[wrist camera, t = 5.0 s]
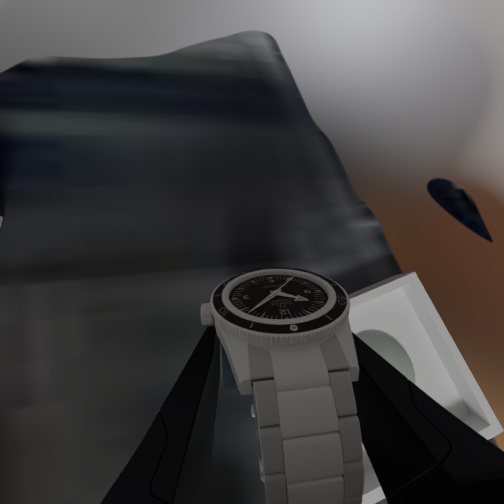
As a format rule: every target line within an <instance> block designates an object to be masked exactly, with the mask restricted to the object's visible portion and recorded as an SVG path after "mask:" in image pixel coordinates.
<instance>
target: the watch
mask: <svg viewBox="0 0 504 504" xmlns="http://www.w3.org/2000/svg"><path fill="white" fill-rule="evenodd" d="M349 311H350V299H349V296H348V294H347V293H346V292H345V290H344V289H343V288H342V287H341V286H340V285H339V284H337V283H336V282H335V281H333V280H331V279H329V278H327V277H325V276H323V275H320V274H317V273H314V272H310V271H306V270H301V269H295V268H280V267H276V268H262V269H255V270H250V271H246V272H243V273H240V274H237V275H234V276H232V277H230V278H228V279H227V280H225V281H223V282H222V283H220V285H218V286H217V287H216V288H215V290H214V291H213V293H212V295H211V298H210V303H203V304H202V305H201V313H200V314H201V323H202V325H209V324H214V321H215V328H216V332H217V335H218V337H219V339H220V341H221V343H222V360H223V380H224V389H229V388H237V387H238V389H239V392H240V394H241V395H248V394H252V389H251V386H254V388H253V401H254V405H251V413H252V417H255V423H256V433H257V444H258V455H259V465H260V476H261V480H262V481H263V482H264V485H265V492H266V504H362V495H363V489H364V463H363V460H362V459H363V449H362V439H361V431H360V424H359V419H358V417H357V415H356V413H357V409H356V403H355V397H354V392H353V387H352V383H351V382H353V381H358V377H359V365H358V360H357V355H356V350H355V345H354V340H353V336H352V332H351V327H350V323H349V318H348V316H349Z"/></svg>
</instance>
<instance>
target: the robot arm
mask: <svg viewBox="0 0 504 504" xmlns="http://www.w3.org/2000/svg"><path fill="white" fill-rule="evenodd" d="M351 332H352V331H351ZM352 336H353V340H354V345H355V350H356V355H357V360H358V365H359V377H358V381H353V382H351V383H352V387H353V392H354V397H355V403H356V409H357V413H356V415H357V417H358V419H359V424H360V431H361V439H362V443H363V445H364V448H365V450H366V453H367V455H368V457H369V460H370V462H371V464H372V467H373V469H374V472H375V474H376V476H377V479H378V481H379V483H380V486H381V488H382V491H383V493H384V495H385V497H386V498H387V499H386V500H387V503H388V504H504V452H503V451H502V450H501V449H499V448H498V447H497V446H495V445H494V444H493V443H491V442H490V441H489V440H487V439H486V438H484V437H483V436H482V435H480V434H479V433H478V432H476V431H475V430H474V429H472V428H471V427H470V426H468V425H467V424H465V423H464V422H463V421H461V420H460V419H459V418H457V417H456V416H455V415H453V414H452V413H451V412H449V411H448V410H447V409H445V408H444V407H443V406H441V405H440V404H439V403H437V402H436V401H435V400H434V399H432V398H431V397H430V396H429V395H428V394H426V393H425V392H424V391H423V390H421V389H420V388H419V387H418V386H416V385H415V384H414V383H413V382H412V381H410V380H408V378H407V377H406V376H404V375H403V374H402V373H401V372H400V371H398V370H397V369H396V368H395V367H394V366H392V365H391V364H390V363H389V362H388V361H386V360H385V359H384V358H383V357H382V356H380V355H379V354H378V353H377V352H376V351H374V350H373V349H372V348H371V347H370V346H368V345H367V344H366V343H365V342H364V341H362V340H361V339H360V338H359V337H358V336H357V335H355V334H354V333H353V332H352ZM219 378H220V340H219V337H218V335H217V332H216V328H215V326H209V327H207V328H206V330H205V332H204V334H203V335H202V337H201V339H200V341H199V342H198V344H197V346H196V348H195V349H194V351H193V353H192V355H191V357H190V358H189V360H188V362H187V364H186V365H185V367H184V369H183V371H182V372H181V374H180V376H179V378H178V379H177V381H176V383H175V385H174V387H173V388H172V390H171V392H170V394H169V395H168V397H167V399H166V401H165V402H164V404H163V406H162V408H161V410H160V411H161V412H159V413H158V415H157V416H156V418H155V420H154V422H153V423H152V425H151V427H150V428H149V430H148V432H147V434H146V435H145V437H144V439H143V440H142V442H141V444H140V445H139V447H138V448H137V450H136V451H135V453H134V454H133V456H132V457H131V459H130V460H129V462H128V464H127V465H126V466H125V468H124V469H123V471H122V472H121V474H120V475H119V477H118V478H117V480H116V481H115V483H114V484H113V486H112V487H111V489H110V490H109V492H108V493H107V495H106V496H105V498H104V499H103V501H102V502H101V504H206V501H207V491H208V482H209V473H210V463H211V454H212V445H213V435H214V426H215V417H216V407H217V398H218V389H219Z"/></svg>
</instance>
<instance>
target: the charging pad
mask: <svg viewBox="0 0 504 504" xmlns="http://www.w3.org/2000/svg"><path fill="white" fill-rule="evenodd" d="M348 296H349V299H350V311H349V316H348V318H349V323H350V327H351V331H352V332H353V333H354V334H355V335H357V336H358V337H359V338H360V339H361V340H362V341H364V342H365V343H366V344H367V345H368V346H370V347H371V348H372V349H373V350H374V351H376V352H377V353H378V354H379V355H380V356H382V357H383V358H384V359H385V360H386V361H388V362H389V363H390V364H391V365H392V366H394V367H395V368H396V369H397V370H398V371H400V372H401V373H402V374H403V375H404V376H406V377H407V378H408V380H410V381H412V382H413V383H414V384H415V385H416V386H418V387H419V388H420V389H421V390H423V391H424V392H425V393H426V394H428V395H429V396H430V397H431V398H432V399H434V400H435V401H436V402H437V403H439V404H440V405H441V406H443V407H444V408H445V409H447V410H448V411H449V412H451V413H452V414H453V415H455V416H456V417H457V418H459V419H460V420H461V421H463V422H464V423H465V424H467V425H468V426H470V427H471V428H472V429H474V430H475V431H476V432H478V433H479V434H480V435H482V436H483V437H484V438H486V439H487V440H489V439H491V438H493V437H494V436H496V435H498V434H500V433H501V432H503V431H504V430H503V429H502V427H501V425H500V423H499V421H498V420H497V418H496V416H495V414H494V413H493V411H492V409H491V407H490V405H489V404H488V402H487V400H486V398H485V397H484V395H483V393H482V391H481V389H480V387H479V386H478V384H477V382H476V380H475V379H474V377H473V375H472V373H471V371H470V370H469V368H468V366H467V364H466V362H465V361H464V359H463V357H462V355H461V354H460V352H459V350H458V348H457V346H456V345H455V343H454V341H453V339H452V337H451V336H450V334H449V332H448V330H447V329H446V327H445V325H444V323H443V321H442V320H441V318H440V316H439V314H438V313H437V311H436V309H435V307H434V305H433V304H432V302H431V300H430V298H429V296H428V295H427V293H426V291H425V289H424V287H423V286H422V284H421V282H420V280H419V278H418V277H417V275H416V273H415V272H411V273H404V274H397V275H394V276H392V277H389V278H387V279H384V280H382V281H380V282H377V283H375V284H372V285H370V286H368V287H365V288H363V289H360V290H358V291H356V292H353V293H351V294H349V295H348ZM362 449H363V459H362V460H363V463H364V489H363V495H362V504H375V503H377V502H379V501H380V500H382V499H384V498H386V497H385V495H384V493H383V491H382V488H381V486H380V483H379V481H378V479H377V476H376V474H375V472H374V469H373V467H372V464H371V462H370V460H369V457H368V455H367V453H366V450H365V448H364V445H363V443H362Z"/></svg>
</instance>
